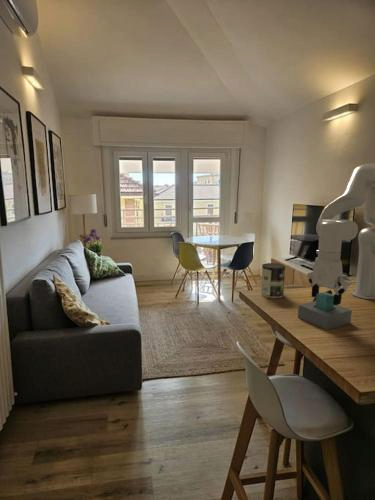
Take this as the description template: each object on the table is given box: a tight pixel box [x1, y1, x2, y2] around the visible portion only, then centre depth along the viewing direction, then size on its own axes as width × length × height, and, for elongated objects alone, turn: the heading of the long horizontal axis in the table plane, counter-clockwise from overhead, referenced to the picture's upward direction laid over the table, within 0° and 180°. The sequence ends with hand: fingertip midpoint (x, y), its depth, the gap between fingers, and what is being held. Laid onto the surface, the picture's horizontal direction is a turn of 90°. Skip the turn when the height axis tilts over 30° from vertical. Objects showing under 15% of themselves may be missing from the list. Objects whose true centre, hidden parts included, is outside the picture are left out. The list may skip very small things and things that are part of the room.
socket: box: [297, 301, 353, 331], centre depth 120 cm, size 13×13×5 cm
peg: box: [316, 291, 334, 311], centre depth 120 cm, size 4×4×10 cm
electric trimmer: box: [312, 289, 333, 302], centre depth 144 cm, size 4×16×3 cm, turn 135°
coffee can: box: [260, 262, 286, 299], centre depth 149 cm, size 10×10×14 cm
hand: (325, 300), depth 119 cm, fingers open, 9 cm apart
